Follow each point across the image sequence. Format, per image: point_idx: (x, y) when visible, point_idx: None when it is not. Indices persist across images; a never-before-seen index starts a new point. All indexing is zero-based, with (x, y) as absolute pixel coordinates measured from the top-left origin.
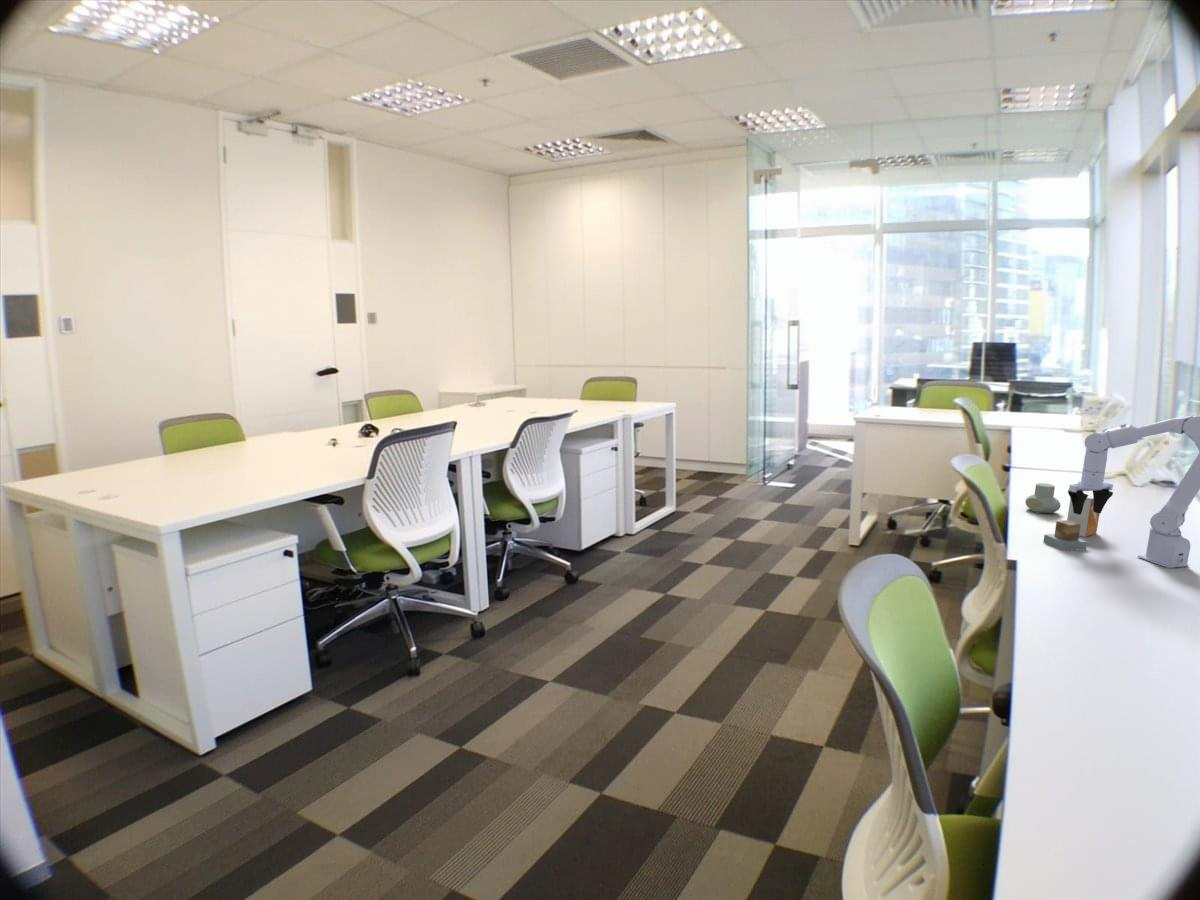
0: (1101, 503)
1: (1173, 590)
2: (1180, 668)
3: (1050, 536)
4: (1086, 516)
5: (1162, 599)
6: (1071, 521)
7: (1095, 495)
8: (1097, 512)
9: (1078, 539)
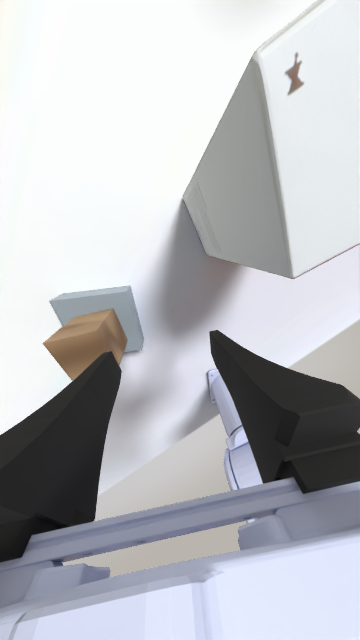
0: (231, 390)
1: (156, 446)
2: None
3: (61, 317)
4: (228, 255)
5: (126, 460)
6: (101, 345)
7: (250, 394)
8: (211, 348)
9: (130, 336)
